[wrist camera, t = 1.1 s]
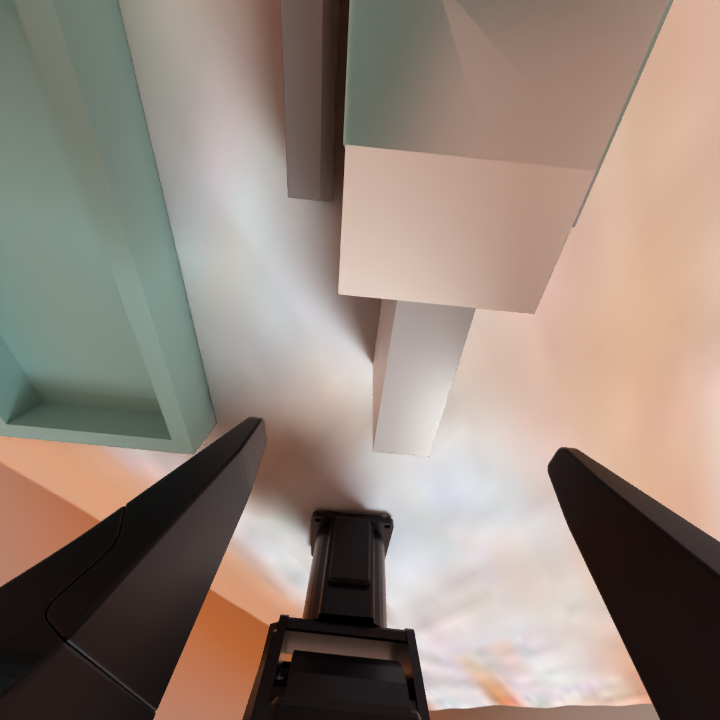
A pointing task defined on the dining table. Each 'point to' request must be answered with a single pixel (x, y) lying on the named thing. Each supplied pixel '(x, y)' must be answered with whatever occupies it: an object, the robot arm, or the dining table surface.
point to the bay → (316, 96)
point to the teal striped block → (470, 170)
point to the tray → (87, 244)
